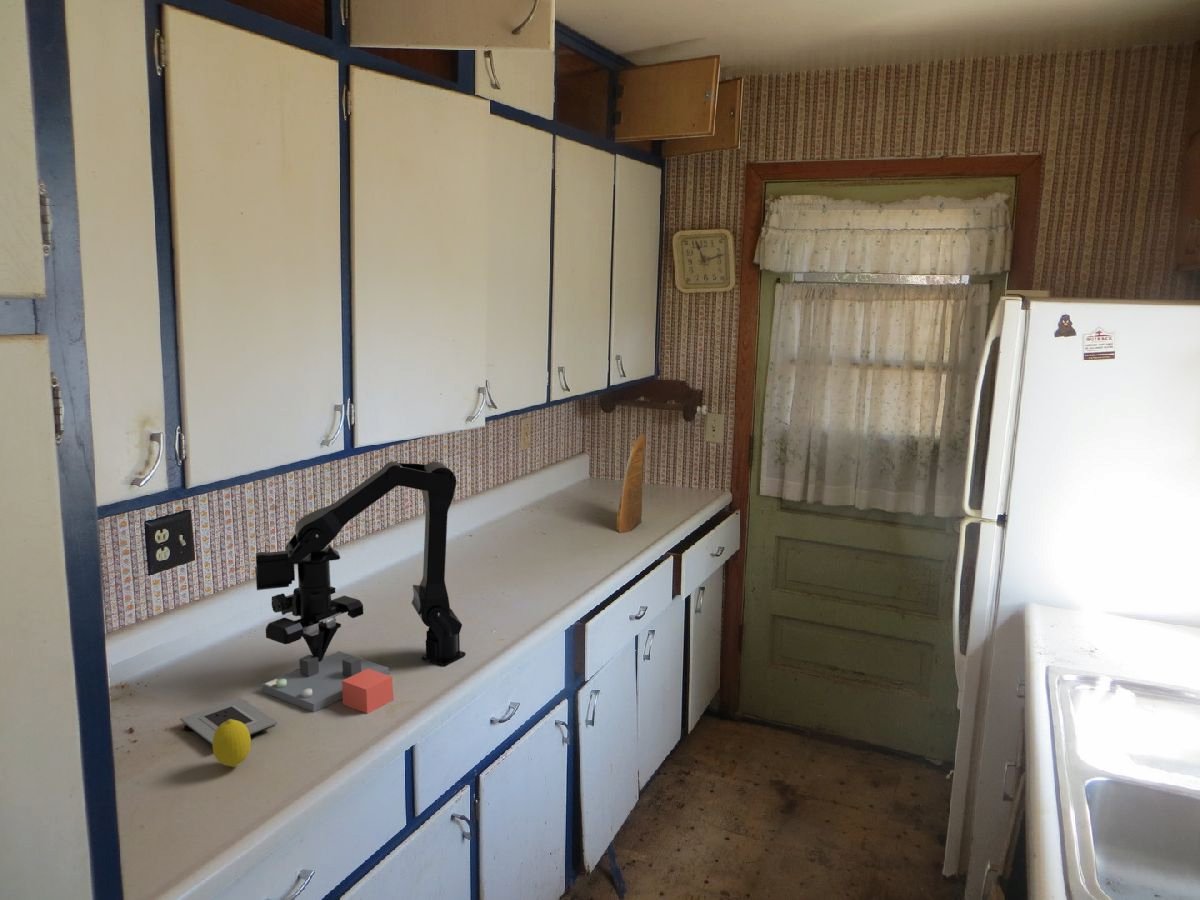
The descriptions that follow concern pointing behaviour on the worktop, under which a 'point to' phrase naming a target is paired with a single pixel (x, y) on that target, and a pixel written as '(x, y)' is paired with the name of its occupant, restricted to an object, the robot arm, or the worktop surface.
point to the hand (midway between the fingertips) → (318, 661)
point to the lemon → (231, 743)
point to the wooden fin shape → (632, 489)
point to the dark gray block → (309, 665)
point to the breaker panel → (316, 683)
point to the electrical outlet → (234, 710)
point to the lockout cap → (367, 690)
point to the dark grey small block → (351, 666)
